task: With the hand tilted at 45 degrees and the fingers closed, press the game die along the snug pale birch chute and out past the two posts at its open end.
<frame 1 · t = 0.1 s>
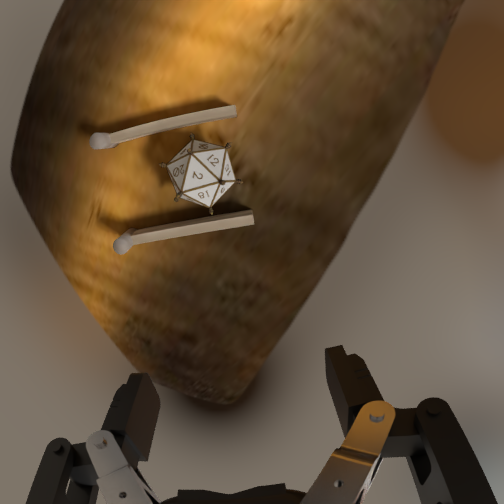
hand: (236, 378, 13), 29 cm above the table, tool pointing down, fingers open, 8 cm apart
chute: (182, 174, 38), on the table
game die: (205, 169, 38), on the table
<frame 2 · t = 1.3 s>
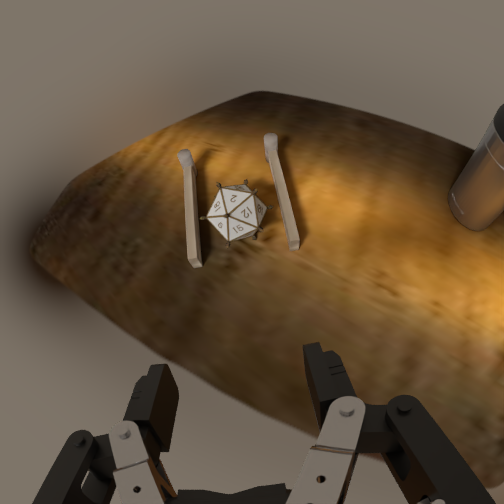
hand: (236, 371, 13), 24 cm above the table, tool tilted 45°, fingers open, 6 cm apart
chute: (238, 209, 46), on the table
game die: (241, 227, 45), on the table
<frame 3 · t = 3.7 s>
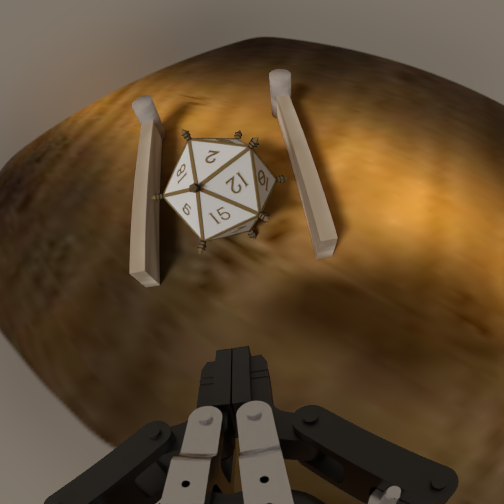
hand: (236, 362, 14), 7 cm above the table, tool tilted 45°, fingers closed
chute: (225, 186, 27), on the table
game die: (229, 217, 26), on the table
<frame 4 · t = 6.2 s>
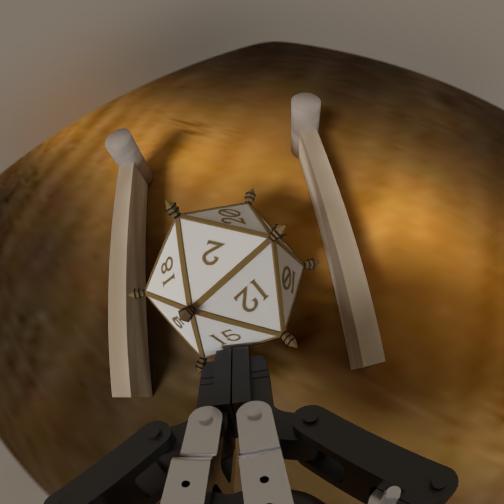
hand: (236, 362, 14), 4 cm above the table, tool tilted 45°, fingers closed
chute: (232, 262, 20), on the table
game die: (237, 301, 19), on the table, touching gripper
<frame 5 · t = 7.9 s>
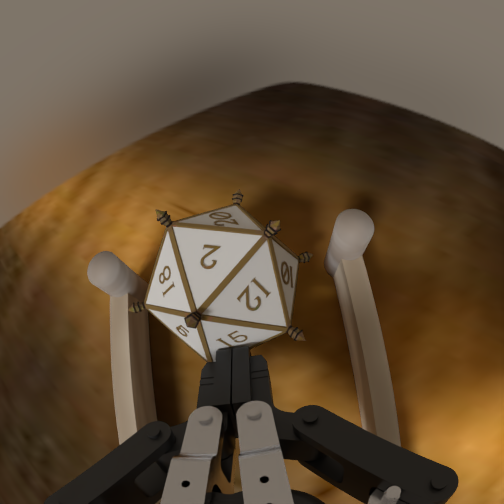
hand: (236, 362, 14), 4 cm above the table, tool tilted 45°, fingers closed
chute: (255, 418, 16), on the table
game die: (235, 304, 19), on the table, touching gripper
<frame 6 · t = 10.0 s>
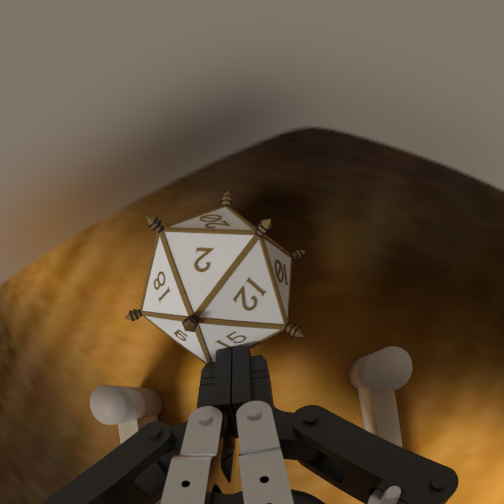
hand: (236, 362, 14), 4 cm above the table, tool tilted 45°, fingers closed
game die: (231, 305, 19), on the table, touching gripper
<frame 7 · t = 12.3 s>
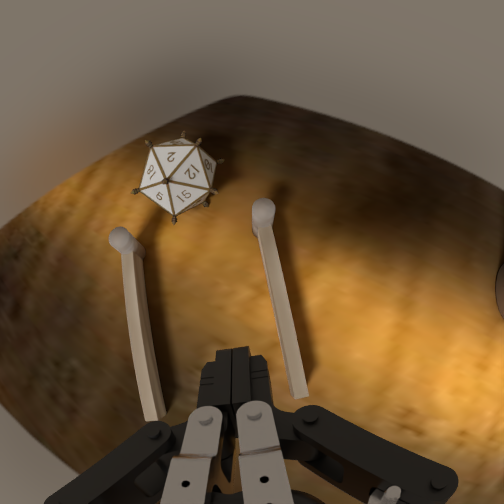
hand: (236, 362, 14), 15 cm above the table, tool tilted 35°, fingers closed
chute: (211, 325, 29), on the table
game die: (186, 194, 33), on the table
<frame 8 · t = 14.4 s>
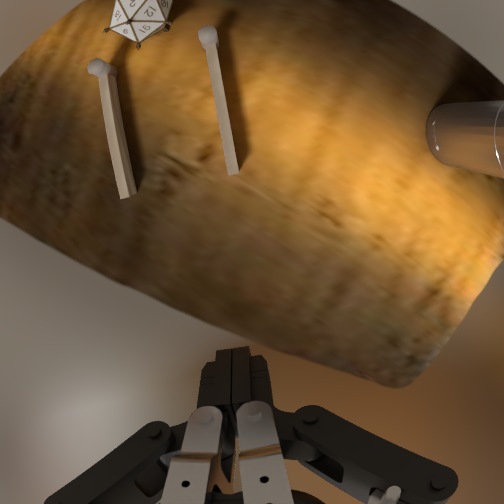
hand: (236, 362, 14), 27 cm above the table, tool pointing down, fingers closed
chute: (169, 120, 35), on the table
game die: (150, 23, 30), on the table
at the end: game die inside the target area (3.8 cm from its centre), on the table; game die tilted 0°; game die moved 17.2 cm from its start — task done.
